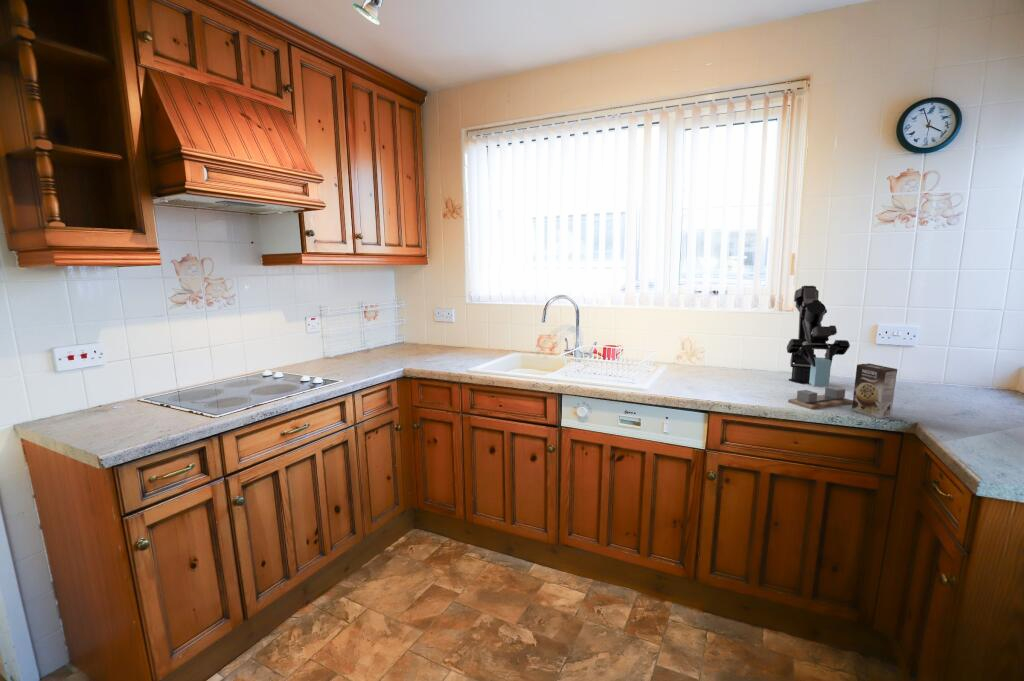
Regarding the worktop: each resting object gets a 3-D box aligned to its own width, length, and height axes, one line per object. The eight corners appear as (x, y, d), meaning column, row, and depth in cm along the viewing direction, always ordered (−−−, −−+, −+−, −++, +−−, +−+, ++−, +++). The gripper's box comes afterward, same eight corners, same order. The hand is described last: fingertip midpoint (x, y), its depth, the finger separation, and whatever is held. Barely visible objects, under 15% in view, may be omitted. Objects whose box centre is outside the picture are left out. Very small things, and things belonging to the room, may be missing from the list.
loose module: (814, 386, 170) (816, 360, 168) (809, 382, 174) (811, 357, 173) (828, 387, 169) (831, 360, 167) (823, 383, 173) (825, 357, 172)
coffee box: (850, 410, 163) (855, 364, 160) (863, 408, 165) (868, 362, 162) (879, 419, 154) (884, 370, 151) (892, 416, 156) (898, 368, 154)
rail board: (810, 409, 165) (811, 406, 165) (788, 402, 173) (788, 399, 173) (852, 403, 171) (853, 400, 171) (828, 396, 180) (829, 393, 179)
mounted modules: (808, 402, 167) (808, 394, 167) (796, 399, 171) (797, 390, 171) (844, 397, 173) (845, 389, 172) (832, 394, 177) (833, 386, 176)
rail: (806, 403, 167) (806, 402, 167) (797, 401, 171) (797, 399, 171) (843, 398, 173) (843, 397, 173) (834, 396, 177) (834, 394, 176)
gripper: (792, 316, 173) (799, 352, 165) (850, 317, 169) (861, 354, 160) (783, 335, 182) (790, 369, 174) (838, 336, 178) (848, 372, 169)
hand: (822, 366), depth 169 cm, fingers closed on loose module, 4 cm apart
